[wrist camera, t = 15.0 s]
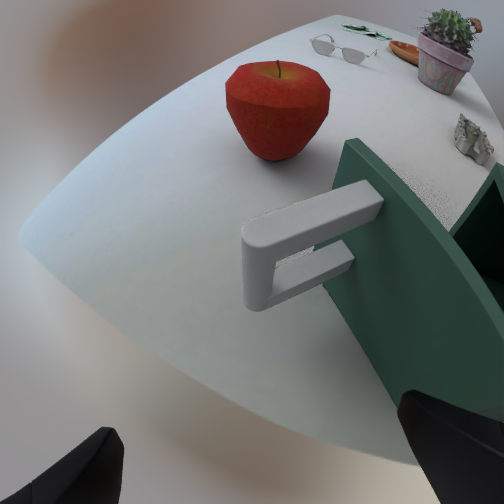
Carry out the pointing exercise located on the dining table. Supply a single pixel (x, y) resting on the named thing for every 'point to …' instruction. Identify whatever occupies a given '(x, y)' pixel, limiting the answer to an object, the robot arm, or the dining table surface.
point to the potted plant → (445, 50)
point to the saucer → (405, 51)
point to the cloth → (366, 31)
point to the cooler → (486, 244)
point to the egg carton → (472, 140)
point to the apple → (277, 106)
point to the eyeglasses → (348, 53)
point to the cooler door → (385, 281)
